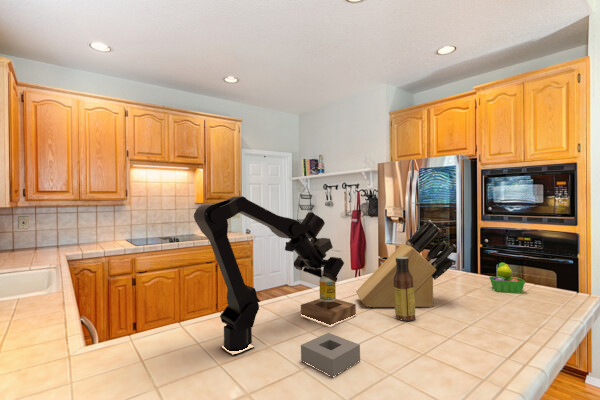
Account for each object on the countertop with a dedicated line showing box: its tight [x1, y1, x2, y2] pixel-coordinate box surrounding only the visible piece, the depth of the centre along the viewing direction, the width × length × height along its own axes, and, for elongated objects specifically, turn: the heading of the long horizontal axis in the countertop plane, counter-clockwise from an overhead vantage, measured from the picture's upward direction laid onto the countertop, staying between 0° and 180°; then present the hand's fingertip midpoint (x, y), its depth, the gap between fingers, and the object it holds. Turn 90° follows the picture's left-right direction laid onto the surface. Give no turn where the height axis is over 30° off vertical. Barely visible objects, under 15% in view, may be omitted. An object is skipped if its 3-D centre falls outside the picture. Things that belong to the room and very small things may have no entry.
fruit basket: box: [488, 262, 526, 294], centre depth 131 cm, size 11×9×11 cm
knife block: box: [355, 219, 457, 308], centre depth 117 cm, size 11×35×31 cm, turn 89°
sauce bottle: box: [394, 257, 416, 322], centre depth 102 cm, size 7×6×20 cm
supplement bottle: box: [318, 270, 337, 302], centre depth 104 cm, size 5×5×10 cm
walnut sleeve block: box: [300, 298, 357, 325], centre depth 104 cm, size 13×13×4 cm
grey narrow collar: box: [300, 332, 361, 378], centre depth 75 cm, size 10×10×4 cm
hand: (330, 279), depth 105 cm, fingers closed on supplement bottle, 5 cm apart
